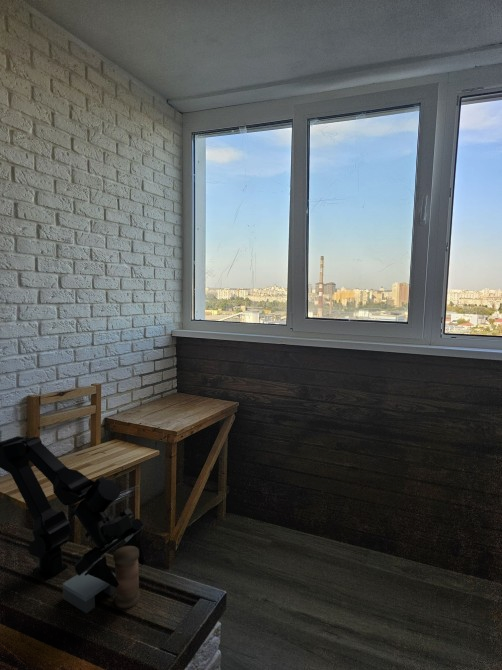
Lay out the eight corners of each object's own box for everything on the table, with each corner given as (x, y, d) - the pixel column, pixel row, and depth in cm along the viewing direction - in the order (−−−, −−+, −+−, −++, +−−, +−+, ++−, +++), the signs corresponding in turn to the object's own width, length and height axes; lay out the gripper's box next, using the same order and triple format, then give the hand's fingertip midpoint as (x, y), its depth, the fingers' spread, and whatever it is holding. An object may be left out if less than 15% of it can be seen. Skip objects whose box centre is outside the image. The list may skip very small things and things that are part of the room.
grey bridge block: (63, 598, 106) (62, 583, 105) (95, 577, 113) (95, 563, 113) (86, 613, 101) (85, 597, 100) (118, 590, 109) (118, 575, 108)
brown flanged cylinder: (109, 602, 104) (107, 555, 103) (129, 587, 109) (127, 543, 108) (126, 611, 101) (124, 563, 100) (145, 596, 106) (144, 550, 105)
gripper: (81, 522, 97) (120, 582, 93) (137, 488, 113) (172, 538, 109) (58, 546, 101) (95, 605, 97) (116, 510, 117) (149, 559, 114)
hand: (131, 574), depth 104 cm, fingers open, 9 cm apart
